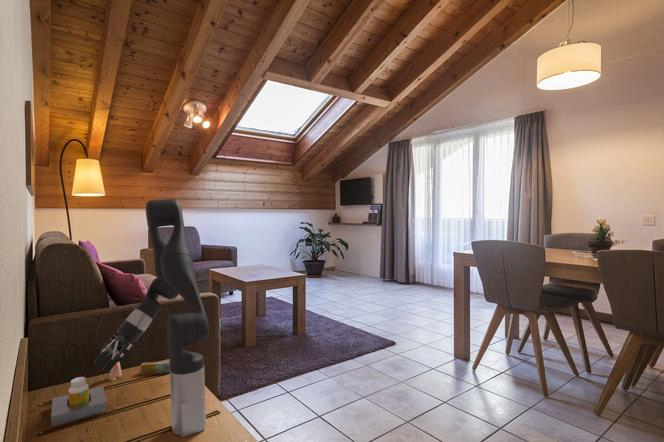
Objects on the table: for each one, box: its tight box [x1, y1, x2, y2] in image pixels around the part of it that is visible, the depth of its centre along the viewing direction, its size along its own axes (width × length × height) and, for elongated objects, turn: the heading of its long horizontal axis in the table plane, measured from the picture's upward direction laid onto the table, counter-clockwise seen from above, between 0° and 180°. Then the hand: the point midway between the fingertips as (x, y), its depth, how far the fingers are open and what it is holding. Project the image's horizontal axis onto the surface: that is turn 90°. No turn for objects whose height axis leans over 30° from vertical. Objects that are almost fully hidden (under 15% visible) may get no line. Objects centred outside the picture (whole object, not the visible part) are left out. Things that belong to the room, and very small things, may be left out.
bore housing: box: [50, 385, 108, 428], centre depth 121 cm, size 14×14×3 cm
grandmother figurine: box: [107, 353, 123, 382], centre depth 145 cm, size 8×4×13 cm, turn 179°
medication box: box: [140, 360, 170, 376], centre depth 149 cm, size 12×3×4 cm, turn 95°
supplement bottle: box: [68, 376, 90, 407], centre depth 121 cm, size 5×5×10 cm
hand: (100, 368), depth 126 cm, fingers open, 8 cm apart
